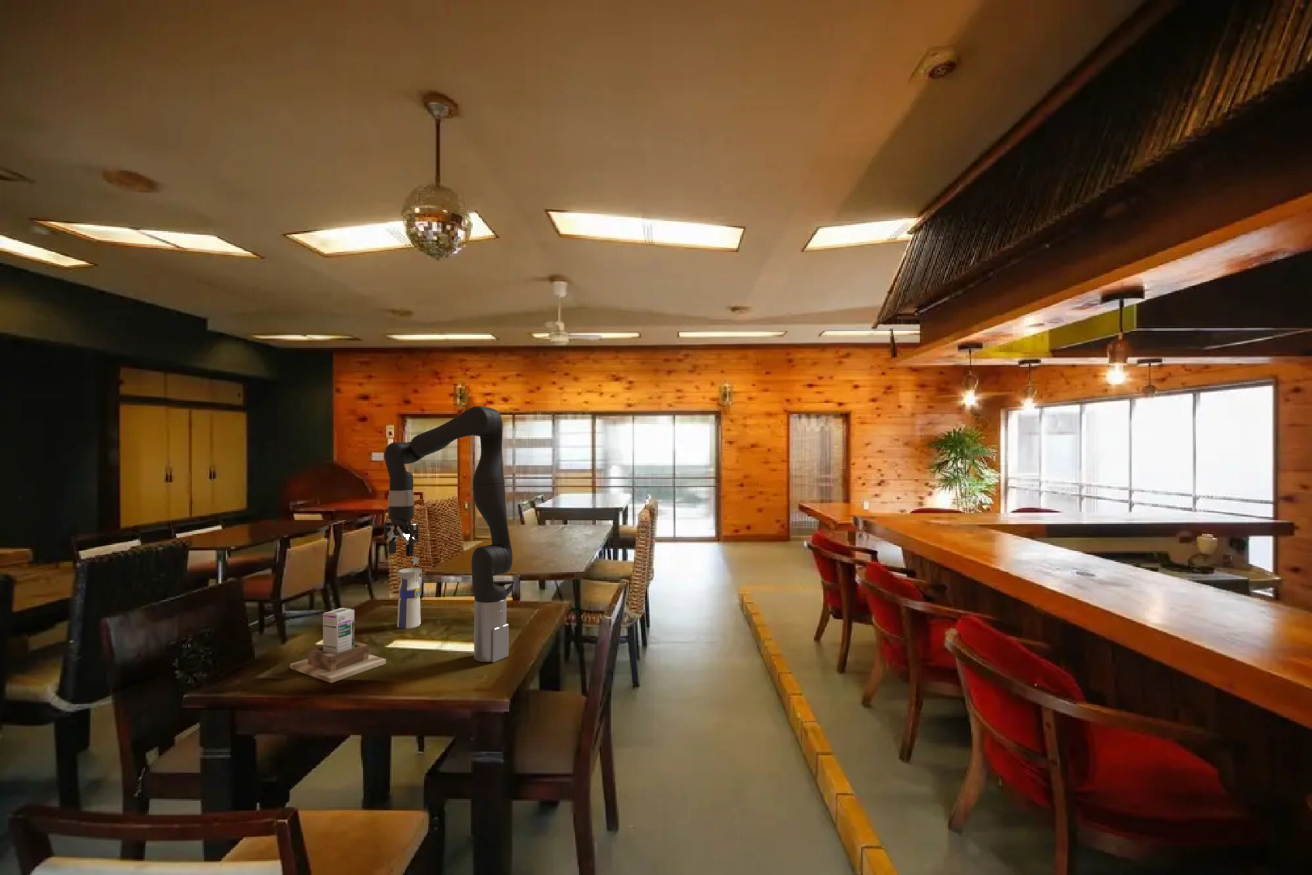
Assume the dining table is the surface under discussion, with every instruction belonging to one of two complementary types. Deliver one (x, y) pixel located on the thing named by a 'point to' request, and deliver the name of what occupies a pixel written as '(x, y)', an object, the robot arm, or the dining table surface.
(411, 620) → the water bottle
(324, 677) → the collar board
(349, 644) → the syrup box
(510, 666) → the dining table surface
